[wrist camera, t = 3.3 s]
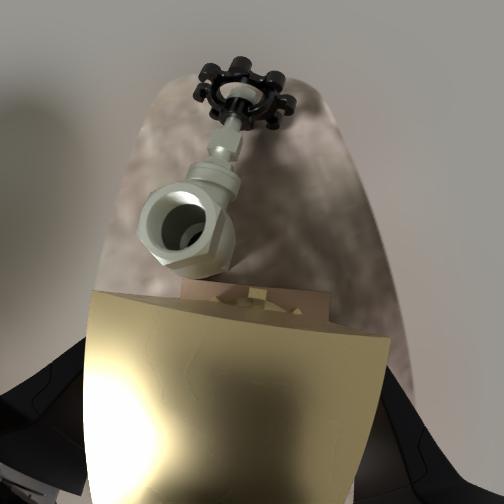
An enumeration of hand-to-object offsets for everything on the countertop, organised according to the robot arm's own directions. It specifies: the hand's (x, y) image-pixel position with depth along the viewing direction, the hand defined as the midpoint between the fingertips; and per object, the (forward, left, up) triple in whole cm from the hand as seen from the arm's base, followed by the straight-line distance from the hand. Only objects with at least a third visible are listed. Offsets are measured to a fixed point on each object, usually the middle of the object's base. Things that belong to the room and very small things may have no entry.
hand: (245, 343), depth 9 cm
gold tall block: (-1, 0, -7) cm, 7 cm away
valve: (+8, +3, -8) cm, 12 cm away
